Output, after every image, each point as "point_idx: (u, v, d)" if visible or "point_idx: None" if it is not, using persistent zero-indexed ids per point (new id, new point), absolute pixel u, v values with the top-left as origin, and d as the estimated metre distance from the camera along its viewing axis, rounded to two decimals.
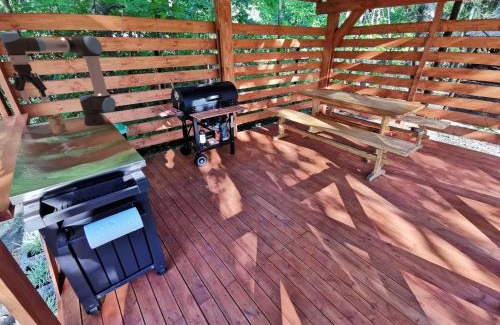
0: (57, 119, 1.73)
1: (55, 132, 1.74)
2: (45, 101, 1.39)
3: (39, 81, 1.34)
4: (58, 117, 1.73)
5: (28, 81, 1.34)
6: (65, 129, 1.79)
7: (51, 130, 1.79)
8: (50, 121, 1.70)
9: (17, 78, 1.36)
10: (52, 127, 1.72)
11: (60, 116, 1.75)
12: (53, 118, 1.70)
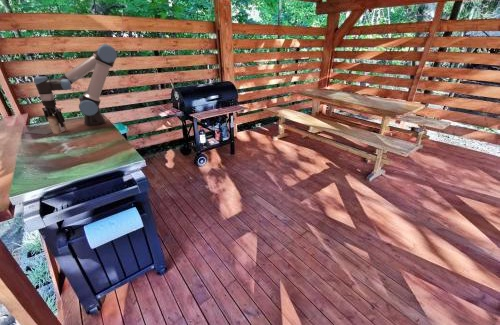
0: None
1: (55, 132, 1.74)
2: (63, 130, 1.76)
3: (60, 115, 1.71)
4: None
5: None
6: (65, 129, 1.79)
7: (51, 130, 1.79)
8: (50, 121, 1.70)
9: (45, 111, 1.72)
10: (52, 127, 1.72)
11: None
12: (53, 118, 1.70)
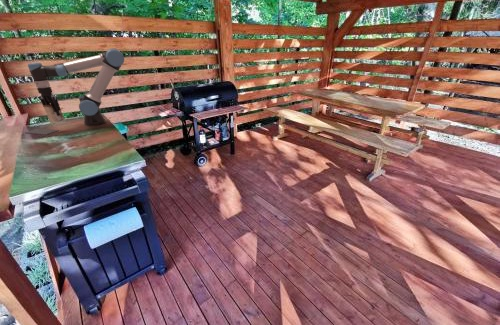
0: None
1: (52, 121, 1.70)
2: (59, 119, 1.73)
3: (56, 103, 1.67)
4: None
5: None
6: (62, 118, 1.76)
7: (51, 130, 1.79)
8: (46, 110, 1.67)
9: (42, 100, 1.68)
10: (49, 116, 1.69)
11: None
12: (49, 107, 1.67)
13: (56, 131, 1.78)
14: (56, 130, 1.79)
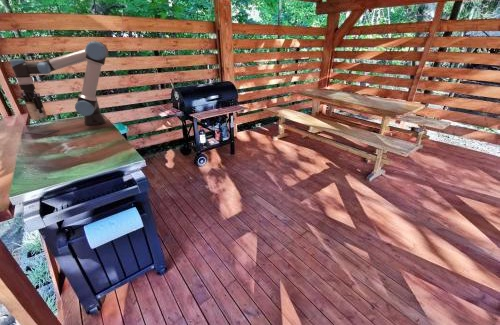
0: None
1: (34, 118, 1.68)
2: (41, 116, 1.71)
3: (39, 100, 1.66)
4: None
5: None
6: (45, 116, 1.74)
7: (51, 130, 1.79)
8: (28, 106, 1.65)
9: (25, 97, 1.66)
10: (31, 113, 1.67)
11: None
12: (31, 103, 1.65)
13: (56, 131, 1.78)
14: (56, 130, 1.79)
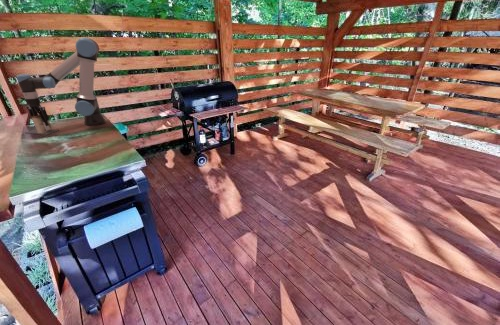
0: None
1: (40, 132, 1.73)
2: (48, 129, 1.75)
3: (45, 113, 1.70)
4: None
5: None
6: (50, 129, 1.78)
7: (51, 130, 1.79)
8: (34, 121, 1.69)
9: (30, 110, 1.70)
10: (37, 127, 1.71)
11: None
12: (37, 118, 1.69)
13: (56, 131, 1.78)
14: (56, 130, 1.79)
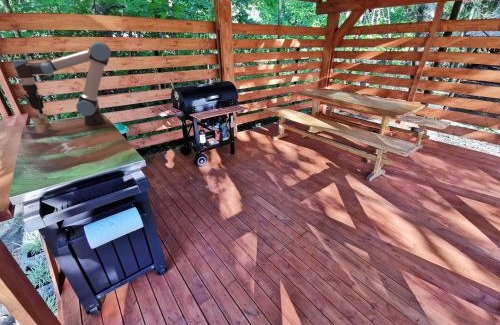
0: None
1: (40, 131, 1.73)
2: (42, 117, 1.71)
3: (41, 101, 1.66)
4: None
5: (34, 98, 1.64)
6: (50, 128, 1.78)
7: (51, 130, 1.79)
8: (34, 120, 1.69)
9: (28, 97, 1.66)
10: (36, 126, 1.71)
11: (44, 115, 1.74)
12: (37, 117, 1.69)
13: (56, 131, 1.78)
14: (56, 130, 1.79)
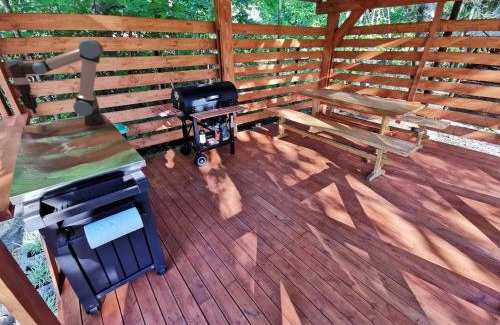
0: (30, 125, 1.77)
1: (35, 129, 1.73)
2: (36, 116, 1.72)
3: (34, 101, 1.67)
4: (30, 125, 1.78)
5: (28, 97, 1.65)
6: (43, 125, 1.78)
7: (51, 130, 1.79)
8: (26, 129, 1.74)
9: (22, 97, 1.67)
10: (31, 130, 1.74)
11: (32, 124, 1.80)
12: (25, 126, 1.75)
13: (56, 131, 1.78)
14: (56, 130, 1.79)
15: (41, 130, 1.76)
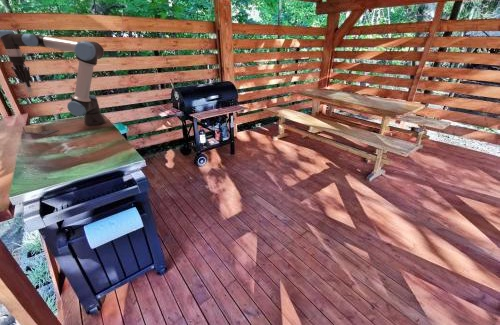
0: (30, 125, 1.77)
1: (35, 129, 1.73)
2: (30, 90, 1.71)
3: (28, 74, 1.65)
4: (30, 125, 1.78)
5: (21, 70, 1.64)
6: (43, 125, 1.78)
7: (51, 130, 1.79)
8: (26, 129, 1.74)
9: (16, 70, 1.66)
10: (31, 130, 1.74)
11: (32, 124, 1.80)
12: (25, 126, 1.75)
13: (56, 131, 1.78)
14: (56, 130, 1.79)
15: (41, 130, 1.76)
